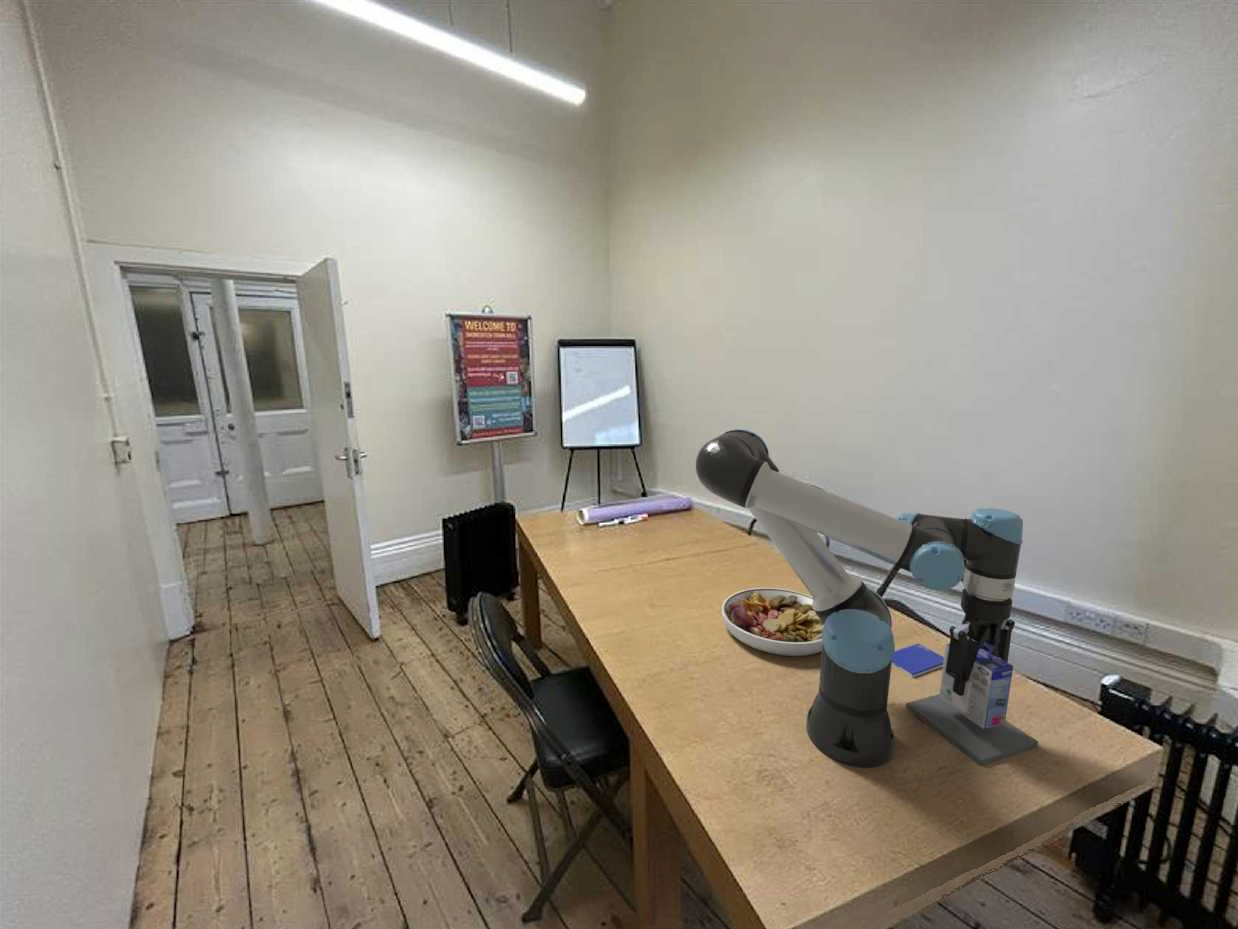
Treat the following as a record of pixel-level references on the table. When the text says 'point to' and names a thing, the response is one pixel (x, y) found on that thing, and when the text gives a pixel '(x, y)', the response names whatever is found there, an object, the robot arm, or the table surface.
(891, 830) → the table surface
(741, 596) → the bowl
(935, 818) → the table surface
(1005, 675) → the ink cartridge box
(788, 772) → the table surface
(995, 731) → the rubber mat
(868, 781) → the table surface
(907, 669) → the blue book
